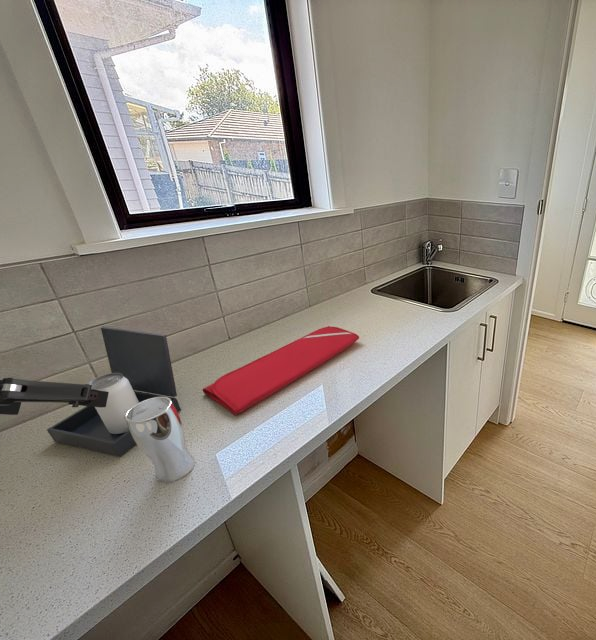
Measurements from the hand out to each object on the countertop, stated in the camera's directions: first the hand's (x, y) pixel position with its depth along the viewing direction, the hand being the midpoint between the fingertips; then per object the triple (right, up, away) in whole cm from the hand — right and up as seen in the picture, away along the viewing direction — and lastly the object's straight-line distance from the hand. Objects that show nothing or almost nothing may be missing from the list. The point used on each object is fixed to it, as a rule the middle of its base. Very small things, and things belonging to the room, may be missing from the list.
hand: (62, 403), depth 59 cm
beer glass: (+16, -14, +5) cm, 22 cm away
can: (-2, -9, +15) cm, 17 cm away
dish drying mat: (+26, +1, +37) cm, 45 cm away
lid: (-2, +5, +18) cm, 18 cm away
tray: (-4, -9, +16) cm, 18 cm away
